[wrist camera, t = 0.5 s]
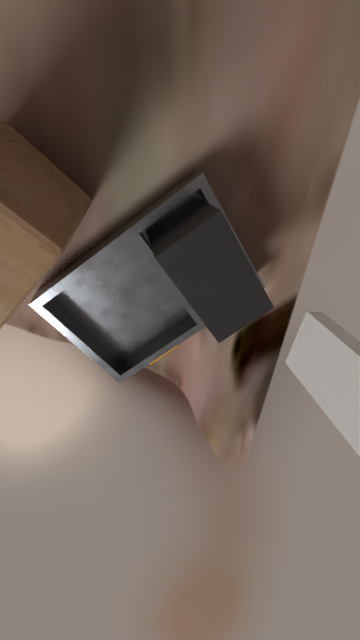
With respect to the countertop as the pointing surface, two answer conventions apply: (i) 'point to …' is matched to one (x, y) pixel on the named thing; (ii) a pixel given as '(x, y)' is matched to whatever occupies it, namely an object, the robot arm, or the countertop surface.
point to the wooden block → (32, 217)
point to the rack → (156, 283)
